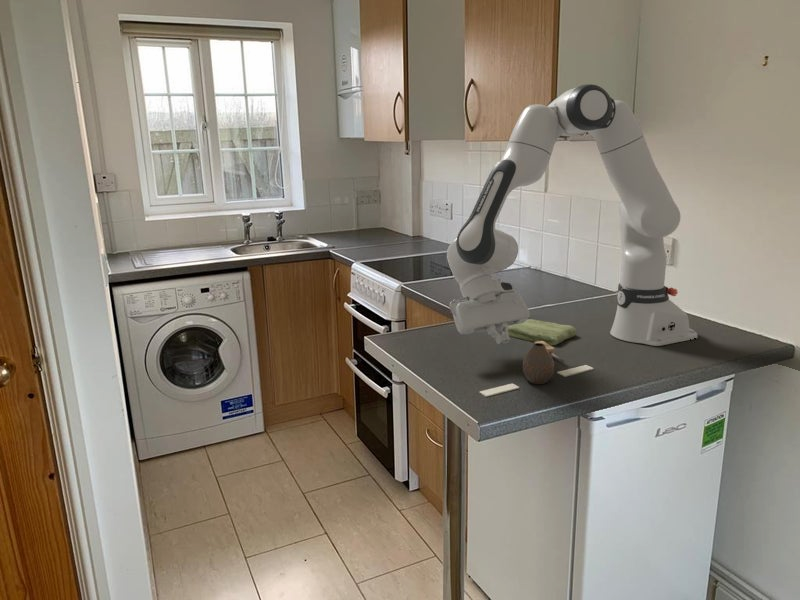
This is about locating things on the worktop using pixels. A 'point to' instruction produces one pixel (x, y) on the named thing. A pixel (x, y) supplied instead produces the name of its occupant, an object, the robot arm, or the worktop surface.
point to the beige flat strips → (513, 387)
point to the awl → (551, 350)
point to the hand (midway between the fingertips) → (504, 342)
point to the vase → (538, 364)
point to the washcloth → (541, 331)
